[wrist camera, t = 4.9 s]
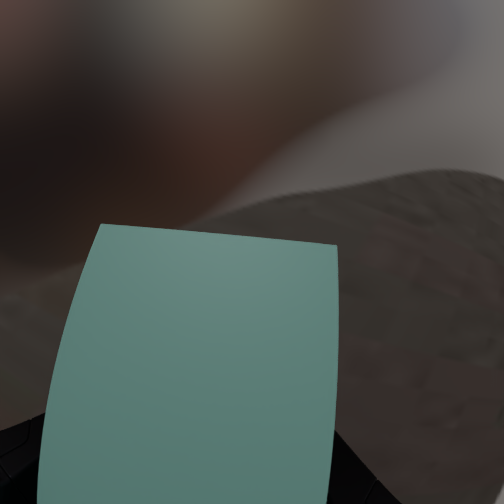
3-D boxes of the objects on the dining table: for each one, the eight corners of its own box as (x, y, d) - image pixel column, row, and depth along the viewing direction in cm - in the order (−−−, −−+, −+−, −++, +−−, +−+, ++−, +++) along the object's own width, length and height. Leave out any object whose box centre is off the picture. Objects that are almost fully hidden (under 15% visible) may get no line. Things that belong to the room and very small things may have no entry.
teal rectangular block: (262, 517, 11) (290, 657, 1) (170, 504, 11) (44, 598, 1) (279, 366, 15) (337, 245, 5) (191, 355, 15) (100, 223, 6)
